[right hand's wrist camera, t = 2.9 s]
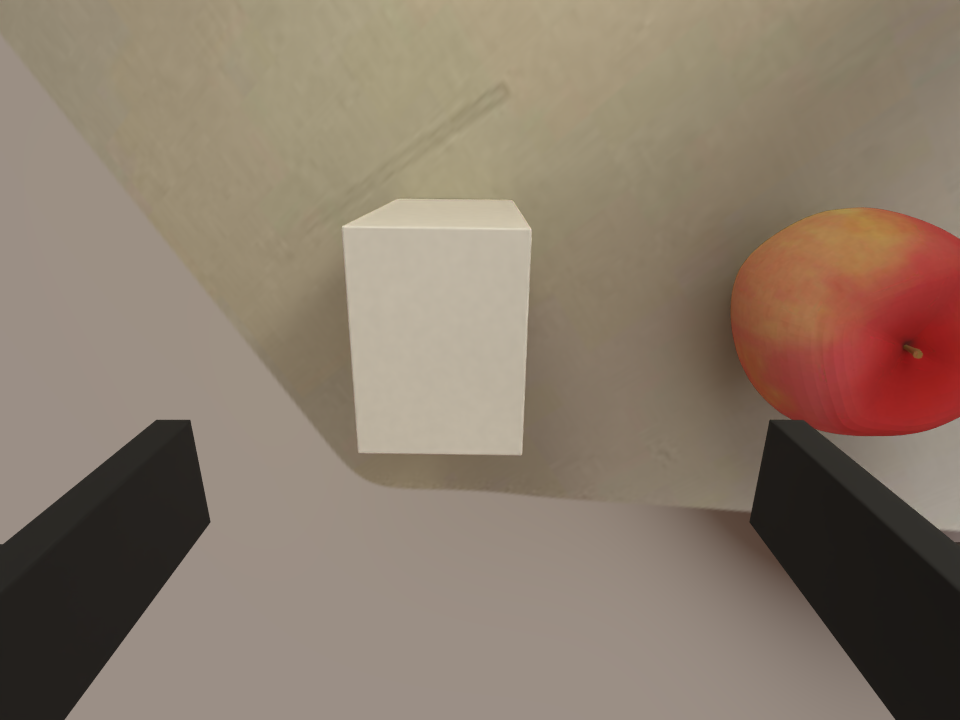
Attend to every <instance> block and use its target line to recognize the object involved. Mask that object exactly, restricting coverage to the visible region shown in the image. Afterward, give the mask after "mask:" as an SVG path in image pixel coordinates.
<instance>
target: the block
mask: <svg viewBox="0 0 960 720" xmlns="http://www.w3.org/2000/svg"><path fill="white" fill-rule="evenodd" d="M531 238H532V230H531V228H530V226H529V225H528V223H527V221H526V220H525V218H524V217H523V215H522V214H521V212H520V211H519V209H518V208H517V206H516V204H515V203H514V201H513V200H473V199H396V200H394V201H392V202H390V203H388V204H386V205H384V206H382V207H380V208H378V209H376V210H374V211H372V212H370V213H368V214H366V215H364V216H362V217H360V218H358V219H356V220H354V221H352V222H350V223H348V224H346V225H344V226H342V240H343V254H344V268H345V281H346V295H347V309H348V323H349V336H350V350H351V364H352V378H353V391H354V405H355V419H356V433H357V446H358V453H369V454H443V455H516V456H520V455H522V447H523V424H524V401H525V378H526V354H527V331H528V308H529V285H530V261H531Z"/></svg>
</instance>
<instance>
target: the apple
mask: <svg viewBox="0 0 960 720" xmlns="http://www.w3.org/2000/svg"><path fill="white" fill-rule="evenodd" d="M731 326H732V333H733V339H734V343H735V347H736V351H737V354H738V357H739V360H740V362H741V365H742V367H743V369H744V371H745V373H746V375H747V376H748V378H749V380H750V381H751V383H752V384H753V386H754V387H755V389H756V390H757V391H758V392H759V393H760V395H761V396H762V397H763V398H764V399H765V400H766V401H767V402H768V403H769V404H770V405H771V406H773V407H774V408H775V409H776V410H778V411H779V412H780V413H782V414H783V415H785V416H787V417H789V418H790V419H792V420H804V421H806V422H807V423H808V424H809V425H810V426H812V427H813V428H814V429H817V430H820V431H825V432H829V433H835V434H842V435H853V436H896V435H906V434H913V433H918V432H923V431H927V430H930V429H933V428H936V427H939V426H941V425H944V424H946V423H948V422H950V421H953V420H955V419H957V418H959V417H960V239H959V238H957V237H955V236H954V235H952V234H950V233H948V232H947V231H945V230H943V229H941V228H939V227H937V226H934V225H932V224H930V223H927V222H925V221H922V220H919V219H916V218H913V217H910V216H907V215H904V214H900V213H896V212H892V211H887V210H882V209H875V208H846V209H837V210H830V211H825V212H821V213H818V214H815V215H812V216H809V217H806V218H804V219H802V220H800V221H797V222H796V223H794V224H792V225H790V226H788V227H786V228H785V229H783V230H781V231H780V232H778V233H777V234H775V235H774V236H772V237H771V238H769V239H768V240H766V241H765V242H764V243H763V244H761V245H760V246H759V247H758V248H757V249H756V250H755V251H754V252H753V253H752V254H751V255H750V256H749V257H748V258H747V259H746V261H745V262H744V263H743V265H742V266H741V268H740V270H739V272H738V274H737V276H736V279H735V282H734V286H733V291H732V297H731Z"/></svg>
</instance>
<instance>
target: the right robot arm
mask: <svg viewBox="0 0 960 720" xmlns="http://www.w3.org/2000/svg"><path fill="white" fill-rule="evenodd" d="M209 523H210V517H209V512H208V507H207V502H206V497H205V492H204V487H203V482H202V477H201V472H200V467H199V462H198V457H197V452H196V447H195V442H194V436H193V431H192V426H191V421H190V420H156V421H154V422H153V423H152V424H151V425H150V426H148V427H147V428H146V429H145V430H143V431H142V432H141V433H140V434H139V435H137V436H136V437H135V438H134V439H132V440H131V441H130V442H129V443H127V444H126V445H125V446H124V447H122V448H121V449H120V450H119V451H117V452H116V453H115V454H114V455H113V456H111V457H110V458H109V459H108V460H106V461H105V462H104V463H103V464H101V465H100V466H99V467H98V468H97V469H95V470H94V471H93V472H92V473H90V474H89V475H88V476H87V477H85V478H84V479H83V480H82V481H81V482H79V483H78V484H77V485H76V486H74V487H73V488H72V489H71V490H69V491H68V492H67V493H66V494H65V495H63V496H62V497H61V498H60V499H58V500H57V501H56V502H55V503H53V504H52V505H51V506H50V507H48V508H47V509H46V510H45V511H44V512H42V513H41V514H40V515H39V516H37V517H36V518H35V519H34V520H32V521H31V522H30V523H29V524H27V525H26V526H25V527H24V528H23V529H21V530H20V531H19V532H18V533H17V534H15V535H14V536H13V537H11V538H10V539H9V540H8V541H7V542H5V543H4V544H0V720H65V718H66V717H67V716H68V714H69V713H70V711H71V710H72V709H73V707H74V706H75V705H76V703H77V702H78V701H79V699H80V698H81V697H82V695H83V694H84V692H85V691H86V690H87V688H88V687H89V686H90V684H91V683H92V682H93V680H94V679H95V678H96V676H97V675H98V674H99V672H100V671H101V670H102V668H103V667H104V665H105V664H106V663H107V661H108V660H109V659H110V657H111V656H112V655H113V653H114V652H115V651H116V649H117V648H118V647H119V645H120V644H121V642H122V641H123V640H124V638H125V637H126V636H127V634H128V633H129V632H130V630H131V629H132V628H133V626H134V625H135V623H136V622H137V621H138V619H139V618H140V617H141V615H142V614H143V613H144V611H145V610H146V609H147V607H148V606H149V605H150V603H151V602H152V601H153V599H154V598H155V596H156V595H157V594H158V592H159V591H160V590H161V588H162V587H163V586H164V584H165V583H166V582H167V580H168V579H169V578H170V576H171V575H172V573H173V572H174V571H175V569H176V568H177V567H178V565H179V564H180V563H181V561H182V560H183V559H184V557H185V556H186V554H187V553H188V552H189V550H190V549H191V548H192V546H193V545H194V544H195V542H196V541H197V540H198V538H199V537H200V536H201V534H202V533H203V532H204V530H205V529H206V527H207V526H208V525H209ZM750 523H751V525H752V526H753V527H754V529H755V530H756V532H757V533H758V534H759V536H760V537H761V538H762V540H763V541H764V542H765V544H766V545H767V546H768V548H769V549H770V550H771V552H772V553H773V555H774V556H775V557H776V559H777V560H778V561H779V563H780V564H781V565H782V567H783V568H784V569H785V571H786V572H787V573H788V575H789V576H790V578H791V579H792V580H793V582H794V583H795V584H796V586H797V587H798V588H799V590H800V591H801V592H802V594H803V595H804V596H805V598H806V599H807V601H808V602H809V603H810V605H811V606H812V607H813V609H814V610H815V611H816V613H817V614H818V615H819V617H820V618H821V619H822V621H823V622H824V624H825V625H826V626H827V628H828V629H829V630H830V632H831V633H832V634H833V636H834V637H835V638H836V640H837V641H838V642H839V644H840V645H841V646H842V648H843V649H844V651H845V652H846V653H847V655H848V656H849V657H850V659H851V660H852V661H853V663H854V664H855V665H856V667H857V668H858V670H859V671H860V672H861V673H862V675H863V676H864V678H865V679H866V680H867V682H868V683H869V684H870V686H871V687H872V688H873V690H874V691H875V693H876V694H877V695H878V697H879V698H880V699H881V701H882V702H883V703H884V705H885V706H886V707H887V709H888V710H889V711H890V713H891V714H892V716H893V717H894V718H895V720H960V542H953V541H952V540H951V539H950V538H949V537H947V536H946V535H945V534H944V533H942V532H941V531H940V530H939V529H937V528H936V527H935V526H934V525H933V524H931V523H930V522H929V521H928V520H926V519H925V518H924V517H923V516H921V515H920V514H919V513H918V512H916V511H915V510H914V509H913V508H912V507H910V506H909V505H908V504H907V503H905V502H904V501H903V500H902V499H900V498H899V497H898V496H897V495H896V494H894V493H893V492H892V491H891V490H889V489H888V488H887V487H886V486H884V485H883V484H882V483H881V482H879V481H878V480H877V479H876V478H875V477H873V476H872V475H871V474H870V473H868V472H867V471H866V470H865V469H863V468H862V467H861V466H860V465H859V464H857V463H856V462H855V461H854V460H852V459H851V458H850V457H849V456H847V455H846V454H845V453H844V452H843V451H841V450H840V449H839V448H838V447H836V446H835V445H834V444H833V443H831V442H830V441H829V440H828V439H826V438H825V437H824V436H823V435H822V434H820V433H819V432H818V431H817V430H815V429H814V428H813V427H812V426H810V425H809V424H808V423H807V422H806V421H804V420H770V421H769V426H768V431H767V436H766V441H765V447H764V452H763V457H762V462H761V467H760V472H759V477H758V482H757V487H756V492H755V497H754V502H753V507H752V512H751V517H750Z"/></svg>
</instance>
